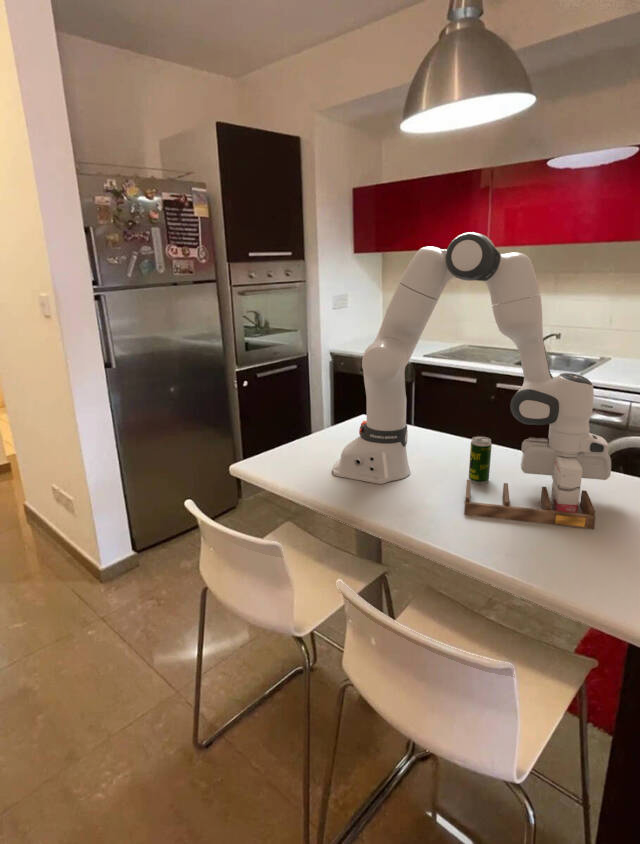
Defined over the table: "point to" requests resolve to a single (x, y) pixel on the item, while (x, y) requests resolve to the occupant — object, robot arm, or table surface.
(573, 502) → the ink box
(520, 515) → the rack
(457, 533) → the table surface
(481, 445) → the beer can
